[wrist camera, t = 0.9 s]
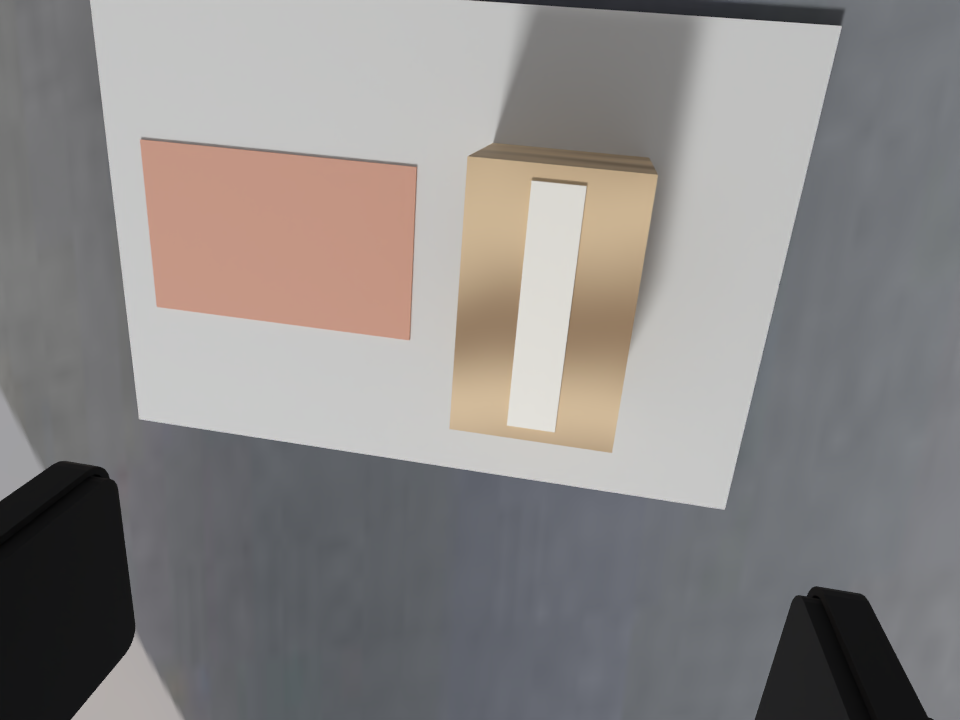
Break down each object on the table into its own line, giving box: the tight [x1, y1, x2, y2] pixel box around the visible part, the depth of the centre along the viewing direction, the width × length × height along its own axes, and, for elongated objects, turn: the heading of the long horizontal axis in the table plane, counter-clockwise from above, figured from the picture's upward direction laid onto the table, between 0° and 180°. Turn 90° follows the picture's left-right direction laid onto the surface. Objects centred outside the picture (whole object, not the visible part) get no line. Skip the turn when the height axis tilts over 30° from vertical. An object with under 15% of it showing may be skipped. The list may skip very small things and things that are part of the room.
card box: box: [449, 143, 658, 453], centre depth 24 cm, size 9×6×5 cm, turn 175°
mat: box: [90, 0, 842, 510], centre depth 28 cm, size 26×18×1 cm
